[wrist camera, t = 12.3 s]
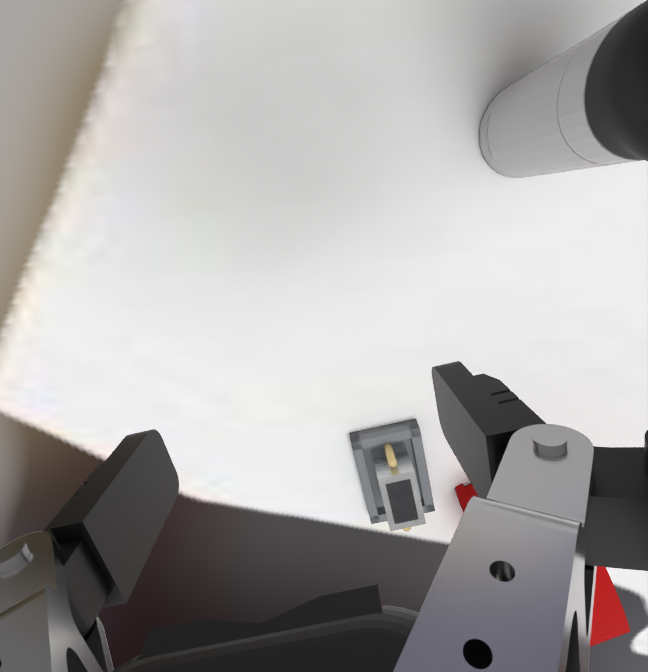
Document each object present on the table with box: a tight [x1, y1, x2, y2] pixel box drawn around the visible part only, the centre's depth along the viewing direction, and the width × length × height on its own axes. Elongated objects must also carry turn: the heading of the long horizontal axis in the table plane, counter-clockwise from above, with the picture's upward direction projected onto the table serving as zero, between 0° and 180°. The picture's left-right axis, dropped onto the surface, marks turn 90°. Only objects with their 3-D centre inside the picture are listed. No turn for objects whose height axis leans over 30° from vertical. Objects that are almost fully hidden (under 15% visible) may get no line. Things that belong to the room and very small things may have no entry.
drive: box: [371, 442, 426, 531], centre depth 51 cm, size 4×8×6 cm, turn 14°
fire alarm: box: [455, 484, 630, 646], centre depth 51 cm, size 16×11×15 cm
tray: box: [350, 419, 435, 531], centre depth 52 cm, size 9×13×6 cm, turn 13°
